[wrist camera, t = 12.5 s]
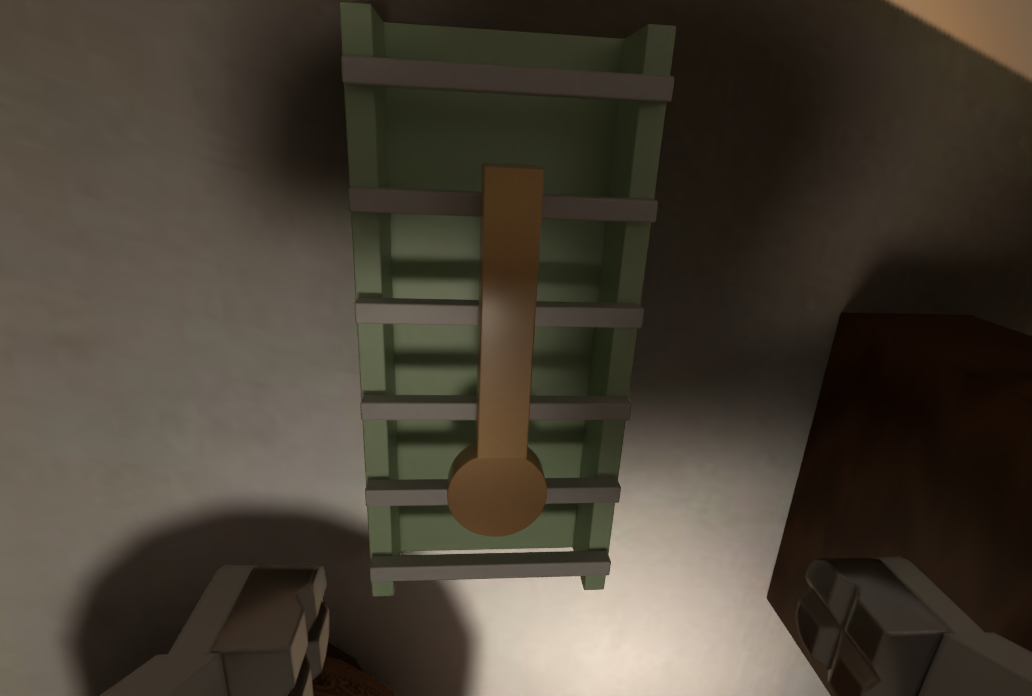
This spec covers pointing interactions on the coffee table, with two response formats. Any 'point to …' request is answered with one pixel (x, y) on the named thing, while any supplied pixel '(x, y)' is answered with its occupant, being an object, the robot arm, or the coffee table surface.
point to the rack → (455, 272)
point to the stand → (921, 465)
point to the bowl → (345, 677)
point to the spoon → (503, 361)
